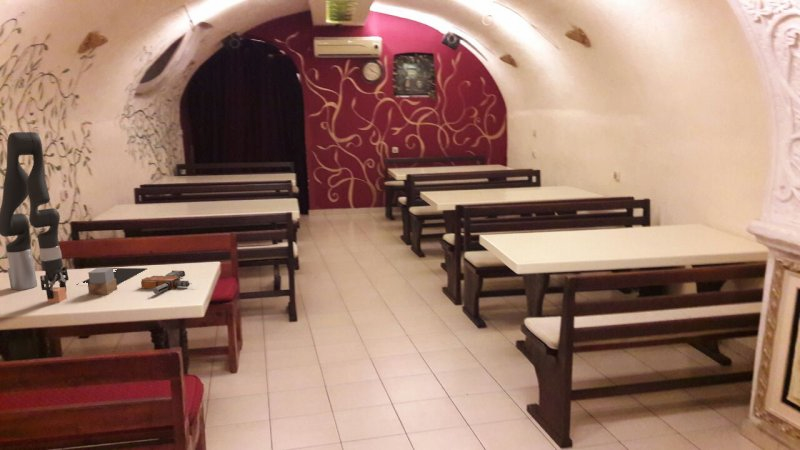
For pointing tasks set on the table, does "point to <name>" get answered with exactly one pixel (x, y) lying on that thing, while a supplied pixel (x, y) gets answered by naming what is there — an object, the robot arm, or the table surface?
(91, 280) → the gray middle block
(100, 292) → the walnut base block
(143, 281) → the tool
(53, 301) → the terracotta block
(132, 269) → the tablet
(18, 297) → the table surface
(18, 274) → the robot arm
